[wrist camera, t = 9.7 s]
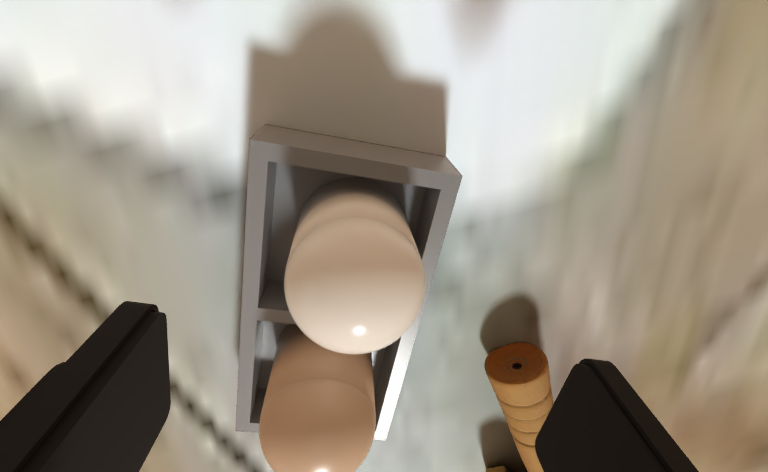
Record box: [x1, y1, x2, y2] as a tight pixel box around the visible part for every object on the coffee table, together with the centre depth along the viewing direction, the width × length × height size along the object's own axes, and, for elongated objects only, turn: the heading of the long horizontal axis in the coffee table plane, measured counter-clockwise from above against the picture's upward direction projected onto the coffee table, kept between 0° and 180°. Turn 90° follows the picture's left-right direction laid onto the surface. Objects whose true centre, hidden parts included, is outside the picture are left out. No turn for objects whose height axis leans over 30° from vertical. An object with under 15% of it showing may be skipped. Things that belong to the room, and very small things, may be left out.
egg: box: [284, 178, 425, 354], centre depth 13 cm, size 4×4×6 cm
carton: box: [235, 125, 462, 472], centre depth 15 cm, size 7×13×7 cm, turn 169°
